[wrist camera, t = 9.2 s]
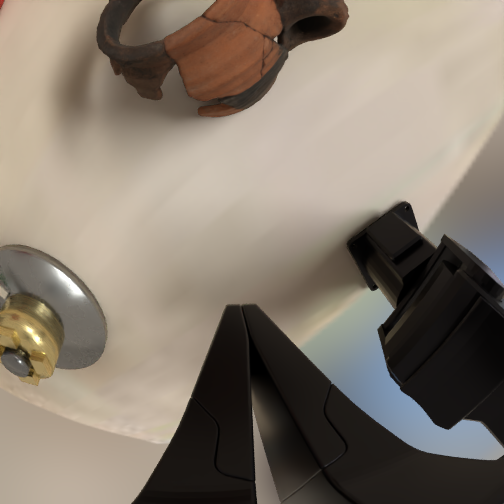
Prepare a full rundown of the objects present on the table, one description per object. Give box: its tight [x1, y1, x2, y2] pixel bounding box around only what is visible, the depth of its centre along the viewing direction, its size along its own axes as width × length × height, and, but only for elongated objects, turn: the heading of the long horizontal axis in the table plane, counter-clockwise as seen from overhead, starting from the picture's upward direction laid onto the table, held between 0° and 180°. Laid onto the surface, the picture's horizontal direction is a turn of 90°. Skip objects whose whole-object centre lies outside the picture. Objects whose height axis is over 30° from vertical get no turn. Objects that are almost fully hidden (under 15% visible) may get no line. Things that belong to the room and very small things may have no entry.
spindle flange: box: [0, 245, 107, 378], centre depth 18 cm, size 15×15×7 cm
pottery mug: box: [96, 0, 349, 117], centre depth 11 cm, size 12×10×8 cm
